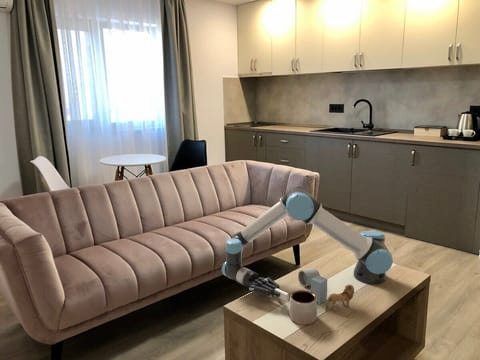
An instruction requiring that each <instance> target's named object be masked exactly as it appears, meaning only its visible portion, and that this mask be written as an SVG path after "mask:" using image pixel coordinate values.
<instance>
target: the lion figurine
mask: <svg viewBox="0 0 480 360" xmlns="http://www.w3.org/2000/svg"><path fill="white" fill-rule="evenodd" d="M354 295H355V287H354V286H353V285H352V284H347V285H345V287H344V289H343V292H341V293H331V294H330V295H329V296H328V297H327V300H326V303H325V309H324V310H325V311H327V310H328V309H329V304H331V303H332V309H333V310H334V311H336V312H338V308H336V306H337V303H341V305H342V306H346V308H347V309H350V301H351V300H352V299H353V297H354Z"/></svg>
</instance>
